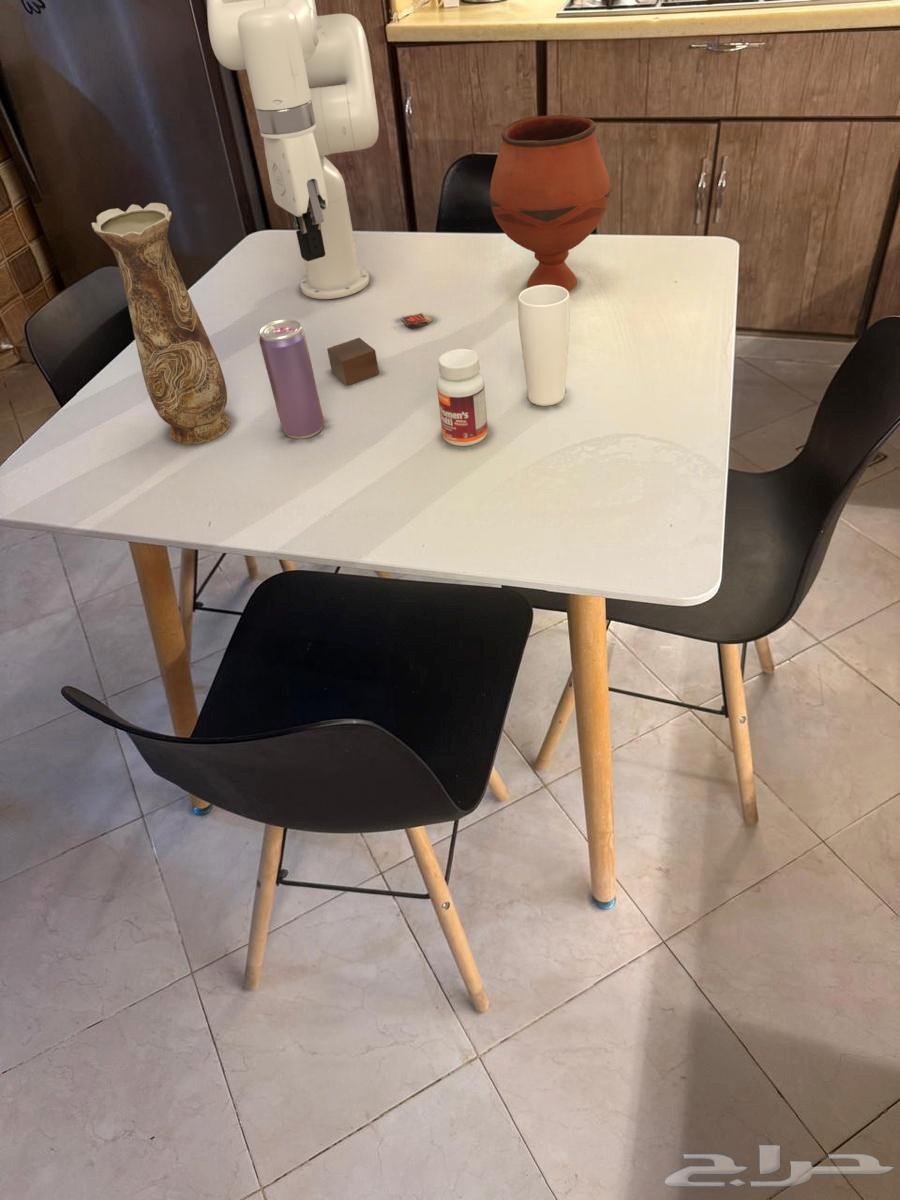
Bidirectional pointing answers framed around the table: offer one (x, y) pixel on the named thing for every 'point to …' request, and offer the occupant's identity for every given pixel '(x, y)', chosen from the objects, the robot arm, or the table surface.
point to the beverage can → (291, 378)
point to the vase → (166, 325)
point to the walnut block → (353, 361)
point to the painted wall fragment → (416, 320)
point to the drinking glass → (544, 341)
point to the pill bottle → (461, 398)
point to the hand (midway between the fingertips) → (313, 257)
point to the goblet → (550, 190)
